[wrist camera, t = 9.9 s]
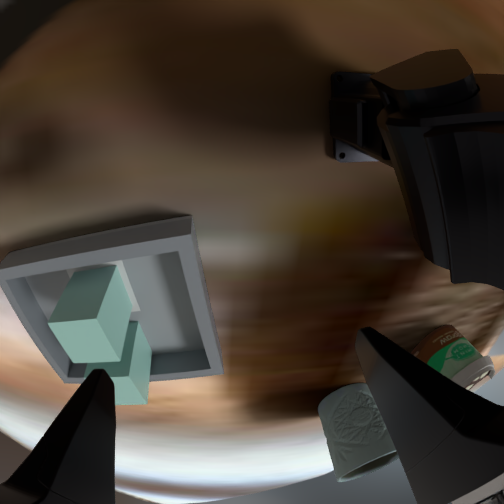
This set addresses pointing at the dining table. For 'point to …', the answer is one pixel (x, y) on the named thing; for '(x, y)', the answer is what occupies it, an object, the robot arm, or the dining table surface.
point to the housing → (141, 296)
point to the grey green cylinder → (355, 432)
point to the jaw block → (93, 316)
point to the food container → (454, 357)
